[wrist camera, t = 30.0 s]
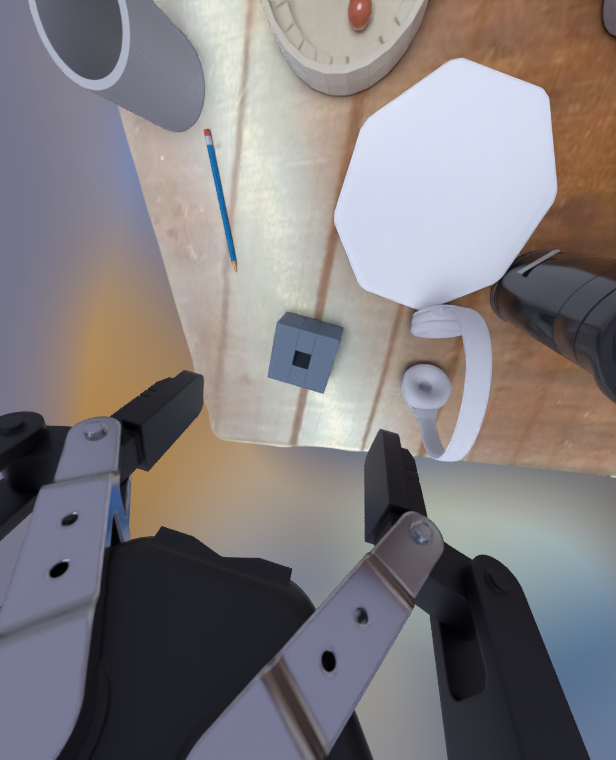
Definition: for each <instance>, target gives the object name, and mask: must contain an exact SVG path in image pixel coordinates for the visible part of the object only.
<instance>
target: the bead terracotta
mask: <svg viewBox="0 0 616 760" xmlns="http://www.w3.org/2000/svg"><path fill="white" fill-rule="evenodd" d="M372 7H373V5H372V0H350V1H349V4H348V10H347V15H348V21H349V24H350V26H351V27H352V28H353V29H354V30H357V31H359V30H362V29H363V28H365V27H366V25H367V24H368V22H369V20H370V18H371V15H372Z"/></svg>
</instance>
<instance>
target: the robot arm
mask: <svg viewBox="0 0 616 760" xmlns="http://www.w3.org/2000/svg"><path fill="white" fill-rule="evenodd" d="M559 251H561V250H556V249H555V250H553V251H551V250H539V251H534V252H530V253H527V254H525V255H522V256H520V257H519V258H517V259H515V260H514V261H513V263H512V264H511V265H510V267H509V268H508V270H507V271H506V273H505V274H504V276H503V277H502V278H501V279H499V280H498V281H497V282H496V283H494V284H493V286H492V290H491V295H490V301H491V306H492V308H493V310H494V312H495V313H496V314H497V315H498V316H499V317H500V318H502V319H503V320H505V321H507V322H509V323H511V324H513V325H514V326H516V327H517V328H519V329H520V330H522V331H524V332H525V333H527V334H528V335H530V336H531V337H533V338H535V339H536V340H538V341H539V342H541V343H543V344H544V345H546V346H547V347H549V348H551V349H552V350H554V351H555V352H557V353H558V354H560V355H562V356H563V357H565V358H566V359H568V360H570V361H571V362H573V363H575V364H576V365H578V366H579V367H581V368H583V369H584V370H586V371H587V372H589V373H590V374H592V375H593V377H594V380H595V382H596V384H597V386H598V387H599V389H600V390H601V391H602V392H603V394H604V395H605V396H607V397H608V398H609V399H610V400H611V401H612V402H614V403H615V404H616V259H611V258H603V257H594V256H586V255H577V254H570V253H561V252H559ZM203 388H204V378H203V376H202V375H201V374H197V373H194V372H190V371H187V370H184V371H182V372H181V373H179V374H178V375H177V376H176V377H174V378H166V379H164V380H161V381H159V382H156V383H155V384H154V385H152V386H151V387H149V388H148V390H145V391H144V392H143V393H141V394H140V396H137V397H136V398H135V399H133V400H132V401H131V402H129V403H128V404H126V405H125V406H124V407H122V408H121V409H119V410H118V411H117V412H115V413H114V414H113V415H111V416H110V417H93V418H89V419H86V420H83V421H81V422H79V423H77V424H76V425H74V426H73V427H69V426H47V425H46V424H45V421H44V418H43V417H42V416H41V415H40V414H38V413H35V412H27V411H26V412H15V413H10V414H6V415H3V416H0V472H1V474H2V475H3V477H4V478H3V479H1V480H0V541H1V540H2V539H3V538H4V537H5V536H6V535H7V534H8V533H10V532H11V531H12V530H13V529H14V528H15V527H16V526H17V525H18V524H19V523H21V522H22V521H23V520H24V519H25V518H26V517H27V516H28V515H29V514H30V513H31V512H32V515H31V518H30V521H29V524H28V527H27V530H26V533H25V536H24V539H23V542H22V545H21V548H20V551H19V554H18V557H17V560H16V563H15V567H14V570H13V573H12V576H11V579H10V582H9V585H8V588H7V591H6V594H5V597H4V600H3V603H2V606H0V760H373V757H372V754H371V752H370V749H369V746H368V744H367V741H366V738H365V736H364V733H363V730H362V728H361V725H360V722H359V720H358V717H357V714H356V712H355V708H356V706H357V704H358V703H359V701H360V699H361V698H362V696H363V694H364V692H365V691H366V689H367V687H368V686H369V684H370V682H371V681H372V679H373V677H374V675H375V674H376V672H377V670H378V669H379V667H380V665H381V663H382V662H383V660H384V658H385V657H386V655H387V653H388V651H389V650H390V648H391V646H392V645H393V643H394V641H395V640H396V638H397V636H398V634H399V633H400V631H401V629H402V628H403V626H404V624H405V623H406V621H407V619H408V617H409V616H410V614H411V612H412V610H413V608H414V605H415V604H416V605H417V606H418V607H420V608H421V609H422V610H424V611H425V612H427V613H428V614H429V615H430V622H431V630H432V637H433V645H434V654H435V662H436V669H437V677H438V685H439V693H440V701H441V709H442V717H443V724H444V733H445V741H446V748H447V756H448V760H590V758H589V755H588V753H587V750H586V748H585V745H584V743H583V740H582V738H581V735H580V732H579V730H578V727H577V725H576V723H575V720H574V717H573V715H572V713H571V710H570V708H569V705H568V702H567V700H566V697H565V695H564V692H563V690H562V688H561V685H560V682H559V680H558V677H557V675H556V672H555V670H554V667H553V665H552V662H551V660H550V657H549V655H548V652H547V650H546V647H545V645H544V642H543V640H542V637H541V635H540V632H539V630H538V627H537V624H536V622H535V620H534V617H533V614H532V612H531V609H530V607H529V604H528V602H527V599H526V597H525V594H524V592H523V590H522V587H521V586H520V584H519V582H518V581H517V579H516V578H515V576H514V575H513V574H512V573H511V572H510V570H509V569H508V568H507V567H505V566H504V565H503V564H502V563H501V562H499V561H498V560H496V559H494V558H493V557H490V556H487V555H478V556H476V557H475V558H474V559H473V560H472V559H470V558H468V557H467V556H465V555H464V554H462V553H460V552H459V551H457V550H456V549H454V548H452V547H451V546H449V545H448V544H447V543H445V542H444V540H443V537H442V535H441V533H440V531H439V529H438V528H437V526H436V525H435V524H434V523H433V522H432V521H431V520H430V519H428V518H427V513H426V508H425V504H424V499H423V495H422V490H421V486H420V483H419V477H418V473H417V468H416V464H415V460H414V458H413V457H412V455H411V454H410V452H409V451H408V449H404V448H401V443H400V438H399V435H398V434H396V433H393V432H389V431H386V430H383V429H380V430H379V431H378V433H377V435H376V437H375V439H374V441H373V443H372V445H371V448H370V450H369V452H368V454H367V456H366V461H365V466H364V467H365V469H364V477H365V479H364V483H365V542H368V543H371V544H374V546H375V547H374V548H373V549H372V550H371V551H370V552H368V553H367V554H366V555H365V556H364V557H363V558H362V559H361V560H360V561H359V562H358V564H357V565H356V566H355V567H354V568H353V569H352V570H351V572H350V573H349V574H348V575H347V576H346V577H345V578H344V579H343V580H342V581H341V583H340V584H339V585H338V586H337V587H336V588H335V589H334V590H333V592H332V593H331V594H330V595H329V596H328V597H327V598H326V600H325V601H324V602H323V603H322V604H321V605H320V606H319V607H318V608H317V610H316V608H315V606H314V605H313V603H312V602H311V600H310V599H309V598H308V596H307V595H306V594H305V592H304V591H303V590H302V589H301V588H300V587H299V586H298V585H297V584H296V583H294V582H293V581H291V580H290V577H291V573H292V568H289V567H285V566H282V565H279V564H276V563H273V562H270V561H267V560H264V559H261V558H235V557H234V558H233V557H222V556H220V555H218V554H217V553H215V552H214V551H213V550H211V549H210V548H209V547H207V546H206V545H204V544H203V543H202V542H200V541H199V540H198V539H196V538H195V537H193V536H190V535H187V534H184V533H181V532H178V531H175V530H172V529H169V528H166V527H163V526H162V527H161V528H160V529H159V531H158V532H157V534H156V535H155V536H150V537H141V538H137V539H132V540H130V529H129V516H130V494H131V493H130V492H131V474H132V473H133V472H134V471H135V470H136V469H137V468H138V469H141V470H144V471H149V470H150V469H151V468H152V467H153V466H154V464H155V463H156V462H157V461H158V460H159V459H160V458H161V457H162V456H163V454H164V453H165V452H166V451H167V450H168V449H169V448H170V447H171V445H172V444H173V443H174V442H175V441H176V440H177V439H178V438H179V437H180V435H181V434H182V433H183V432H184V431H185V430H186V429H187V428H188V426H189V425H190V424H191V423H192V422H193V421H194V419H195V418H196V417H197V416H198V415H199V413H200V412H201V409H202V406H203Z"/></svg>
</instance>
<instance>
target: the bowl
mask: <svg viewBox="0 0 616 760" xmlns="http://www.w3.org/2000/svg"><path fill="white" fill-rule="evenodd" d="M260 1H261V3H262V6H263V8H264V11H265V14H266V16H267V19H268V22H269V24H270V27H271V29H272V31H273V33H274V35H275V38H276V40H277V42H278V44H279V46H280V49H281V51H282V53H283V55H284V57H285V58H286V60H287V61H288V63H289V64H290V66H291V67H292V69H293V70H294V72H295V73H296V75H297V76H298V77H299V78H300V79H302V80H303V81H304V82H305V83H306V84H308V85H309V86H310V87H311V88H313V89H315V90H318V91H320V92H323V93H325V94H328V95H351V94H354V93H357V92H359V91H362V90H365V89H367V88H369V87H371V86H372V85H373V84H375V83H376V82H377V81H379V80H380V79H381V78H383V77H384V76H386V75H387V74H388V73H389V72H390V71H391V69H392V68H393V67H394V66H395V65H396V63H397V62H398V61H399V60H400V59H401V57H402V56H403V55H404V54H405V52H406V51H407V49H408V47H409V45H410V44H411V42H412V40H413V38H414V36H415V35H416V33H417V31H418V29H419V27H420V26H421V23H422V21H423V18H424V15H425V12H426V9H427V6H428V3H429V1H430V0H372V5H373V7H372V15H371V18H370V20H369V22H368V24H367V25H366V27H365V28H363V29H362V30H359V31H357V30H354V29H353V28H352V27H351V26H350V24H349V21H348V15H347V10H348V4H349V1H350V0H260Z"/></svg>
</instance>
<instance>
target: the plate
mask: <svg viewBox="0 0 616 760" xmlns="http://www.w3.org/2000/svg"><path fill="white" fill-rule="evenodd" d="M557 190H558V189H557V178H556V167H555V156H554V145H553V134H552V123H551V113H550V102H549V97H548V95H547V94H546V92H545V91H544V89H543V88H541V87H539V86H536V85H533V84H531V83H528V82H525V81H523V80H520V79H518V78H515V77H512V76H510V75H507V74H504V73H502V72H499V71H497V70H494V69H491V68H489V67H486V66H483V65H481V64H478V63H476V62H473V61H470V60H468V59H465V58H457V59H452V60H449V61H448V62H446V63H445V64H444V65H442V66H441V67H439V68H438V69H436V70H435V71H434V72H432V73H431V74H429V75H428V76H427V77H425V78H424V79H422V80H421V81H419V82H418V83H417V84H415V85H414V86H412V87H411V88H410V89H408V90H407V91H405V92H404V93H403V94H401V95H400V96H398V97H397V98H395V99H394V100H393V101H391V102H390V103H388V104H387V105H386V106H384V107H383V108H381V109H380V110H378V111H377V112H376V113H374V114H373V115H371V116H370V117H369V118H368V119H367V120H366V122H365V123H364V124H363V126H362V127H361V129H360V132H359V135H358V139H357V142H356V145H355V148H354V151H353V155H352V158H351V161H350V164H349V167H348V170H347V174H346V177H345V180H344V183H343V186H342V190H341V193H340V196H339V199H338V202H337V205H336V209H335V212H334V224H335V226H336V229H337V231H338V234H339V236H340V239H341V241H342V244H343V246H344V249H345V251H346V254H347V256H348V259H349V261H350V264H351V266H352V269H353V271H354V274H355V276H356V279H357V281H358V284H359V285H360V286H361V287H362V288H363V289H364V290H366V291H369V292H371V293H374V294H377V295H379V296H382V297H385V298H387V299H390V300H393V301H395V302H398V303H401V304H403V305H406V306H409V307H411V308H414V309H416V310H421V309H423V308H425V307H429V306H433V305H442V304H444V303H447V302H449V301H452V300H454V299H457V298H459V297H462V296H464V295H467V294H470V293H472V292H475V291H477V290H480V289H482V288H485V287H487V286H490V285H492V284H494V283H496V282H497V281H498V280H499V279H501V278H502V277H503V276H504V274H505V273H506V271H507V270H508V268H509V267H510V265H511V264H512V263H513V261H514V260H515V258H516V257H517V255H518V254H519V252H520V251H521V249H522V248H523V246H524V245H525V244H526V242H527V241H528V239H529V238H530V236H531V235H532V233H533V232H534V230H535V229H536V227H537V226H538V224H539V223H540V222H541V220H542V219H543V217H544V216H545V214H546V213H547V211H548V210H549V208H550V207H551V205H552V204H553V203H554V200H555V197H556V194H557Z"/></svg>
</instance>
